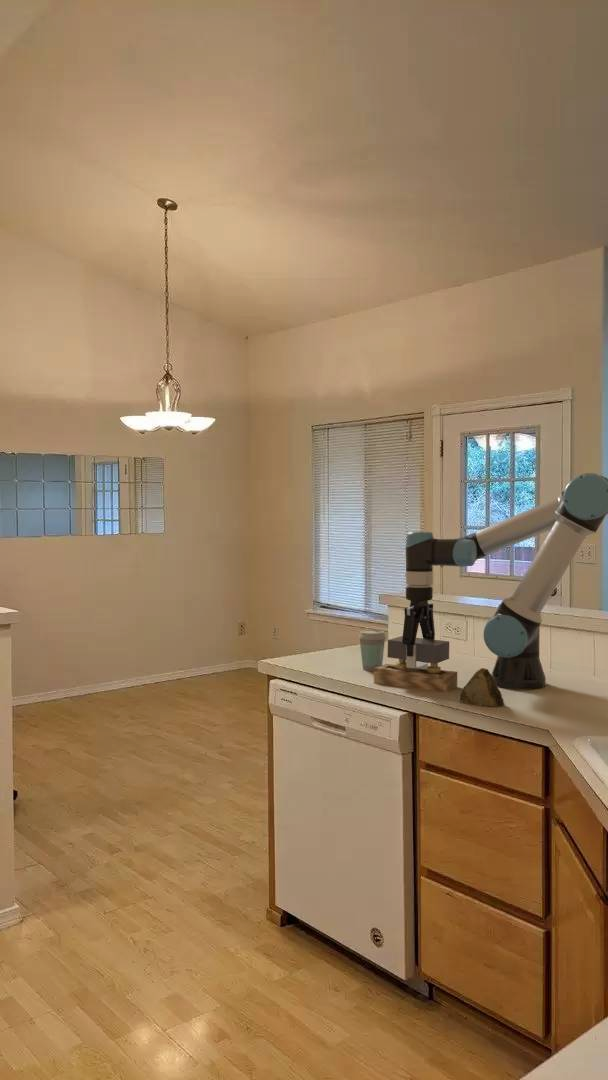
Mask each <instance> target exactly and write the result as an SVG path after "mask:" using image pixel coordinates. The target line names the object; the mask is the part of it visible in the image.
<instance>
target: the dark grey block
mask: <svg viewBox="0 0 608 1080" xmlns="http://www.w3.org/2000/svg"><path fill="white" fill-rule="evenodd" d="M402 638H403V635H401V636H397V637H394V638H389V639H387V658H390V659H397V660H398V661H396V663H395V665H396V668H397V669H409V668H407V667H406V646H407V645H406V644H403V642H402ZM414 645H416V662H418V663H424V662H426V663H427V664H430V665H428V673H431V674H439V673H441V670H442V668H441V666H438V665H439V663H442V662H445V661H447V660H450V641H448V640H439V639H434V640H433V639H424V638H423V637H416V640H415V644H414Z"/></svg>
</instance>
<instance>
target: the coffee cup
mask: <svg viewBox="0 0 608 1080" xmlns="http://www.w3.org/2000/svg"><path fill="white" fill-rule="evenodd" d="M359 632H360V633H359V635H358V639H359V646H360V655H361V663H362V669H363V670H364V671H368V672H374V668H376V667H379V666H382V665H383V661H384V650H385V642H386V639H387V636H386V633H385V631H383V630H380V629H379V630H376V629H366V630H361V631H359Z"/></svg>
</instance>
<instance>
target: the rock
mask: <svg viewBox="0 0 608 1080" xmlns="http://www.w3.org/2000/svg"><path fill="white" fill-rule="evenodd" d="M459 702H462V703H466V704H469V705H476V706H482V707H483V706H484V707H489V708H490V707H493V708H494V707H496V706H497V707H498V706H499V707H504V706H503V705H505V706H506V704H505V702H504V698H503V694H502V693H501V691H500V689H499V687H498V686H497V685H496V683H495V680H494V679H493V677H492V673H490V670H489V669H488V668H483V667H482V668H479V669H478V670H477V671H476V672H474V674H473V676H472V677H471V678H470V679H469V680H468V682H467V683H466V684H465V685H464V686H463V688H462V692H461V693H460V695H459Z"/></svg>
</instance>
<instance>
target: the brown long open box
mask: <svg viewBox="0 0 608 1080" xmlns="http://www.w3.org/2000/svg"><path fill="white" fill-rule="evenodd" d="M373 683H374V684H380V685H386V686H397V687H401V688H412V689H418V690H419V689H420V690H425V691H427V690H428V691H433V692H434V691H435V692H443V693H447V692H449V691H452V690H454V689H456V688H458V671H457V670H456V671H454V670H445V669H441V673H439V674H431V673H428V668H420V667H416V668H409V669H397V668H396V664H393V663H392V664H391V663H385V664H382V666H379V667H376V668H374V671H373Z"/></svg>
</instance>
